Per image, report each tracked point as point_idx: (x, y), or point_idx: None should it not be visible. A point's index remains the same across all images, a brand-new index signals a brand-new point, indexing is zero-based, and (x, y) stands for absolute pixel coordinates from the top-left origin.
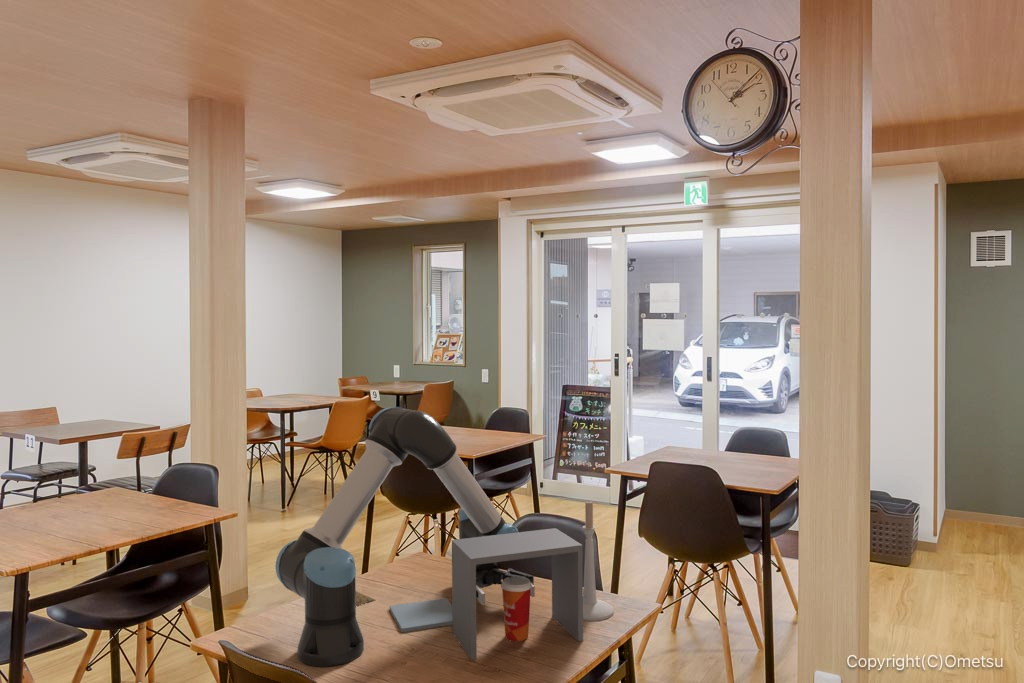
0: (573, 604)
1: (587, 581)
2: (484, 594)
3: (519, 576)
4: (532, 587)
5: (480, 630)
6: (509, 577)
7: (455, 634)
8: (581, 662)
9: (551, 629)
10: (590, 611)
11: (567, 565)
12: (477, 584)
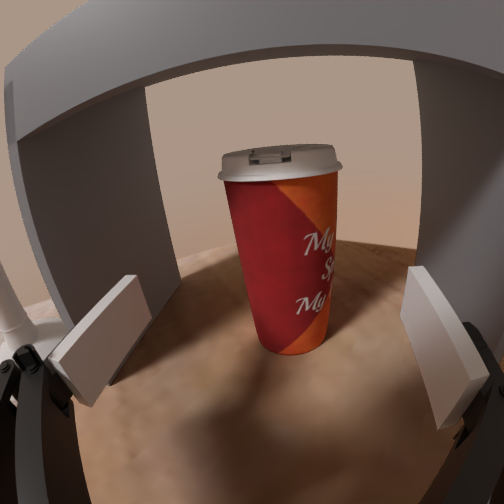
0: (153, 223)
1: (7, 279)
2: (410, 271)
3: (239, 155)
4: (135, 279)
5: (395, 395)
6: (55, 481)
7: None
8: (235, 245)
9: (177, 334)
10: (60, 322)
11: (114, 139)
12: (452, 473)
